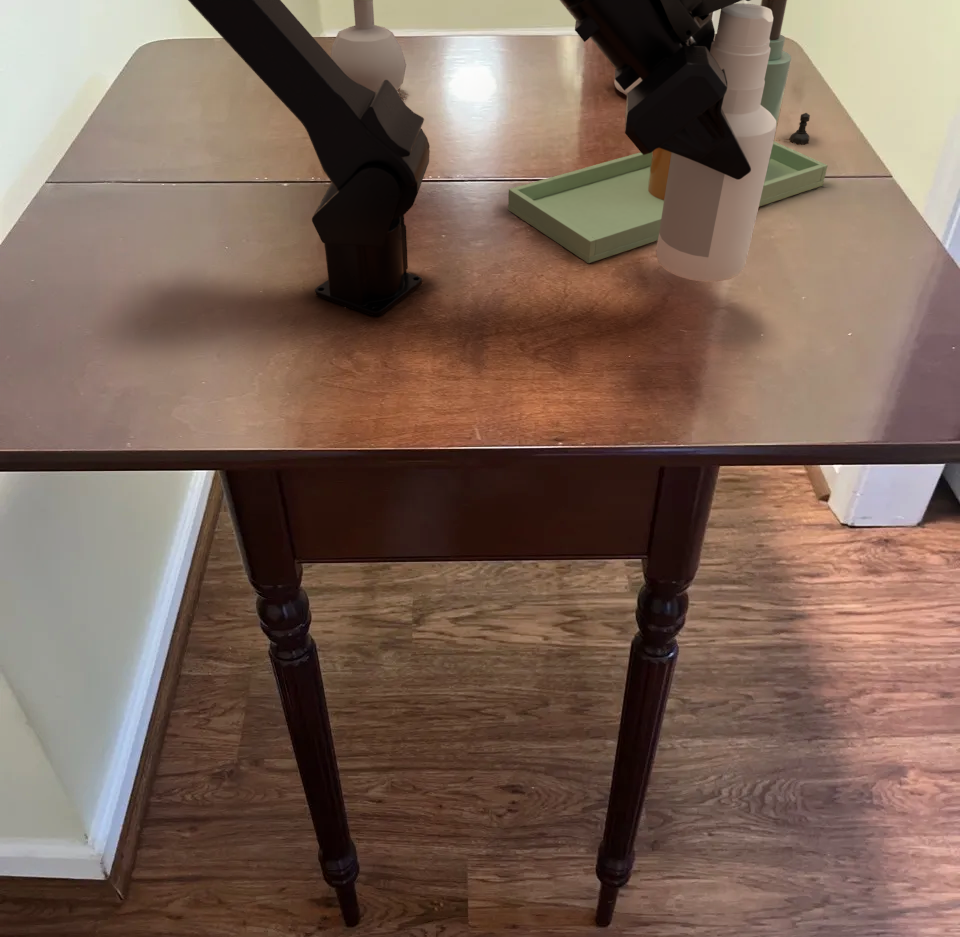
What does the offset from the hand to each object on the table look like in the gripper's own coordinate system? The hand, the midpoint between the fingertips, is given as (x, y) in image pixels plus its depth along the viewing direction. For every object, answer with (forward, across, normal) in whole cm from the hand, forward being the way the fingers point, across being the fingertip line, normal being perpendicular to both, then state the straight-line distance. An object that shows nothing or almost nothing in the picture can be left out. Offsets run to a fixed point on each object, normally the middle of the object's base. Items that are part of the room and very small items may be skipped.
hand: (740, 153), depth 68 cm
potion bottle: (-16, +44, +35) cm, 59 cm away
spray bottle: (+5, 0, +7) cm, 9 cm away
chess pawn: (+18, +36, 0) cm, 41 cm away
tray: (+8, +21, +11) cm, 25 cm away
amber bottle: (+7, +21, +10) cm, 24 cm away
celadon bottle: (+12, +27, +5) cm, 30 cm away
